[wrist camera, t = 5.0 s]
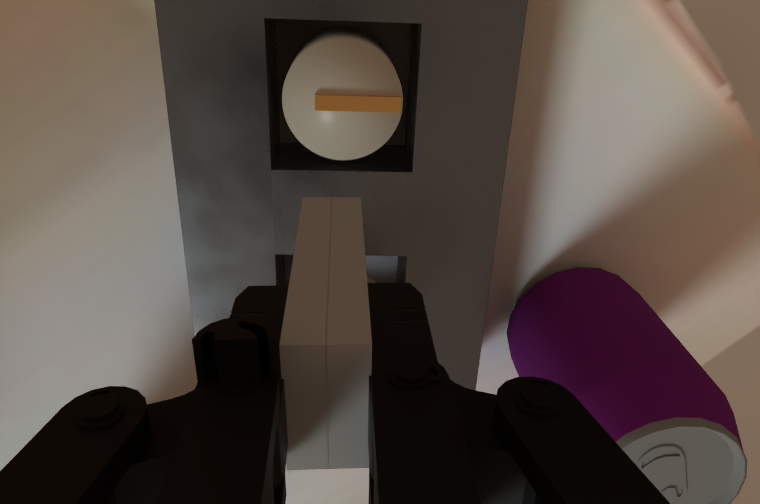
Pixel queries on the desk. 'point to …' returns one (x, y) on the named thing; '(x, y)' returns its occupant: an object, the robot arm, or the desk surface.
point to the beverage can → (631, 381)
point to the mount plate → (344, 177)
